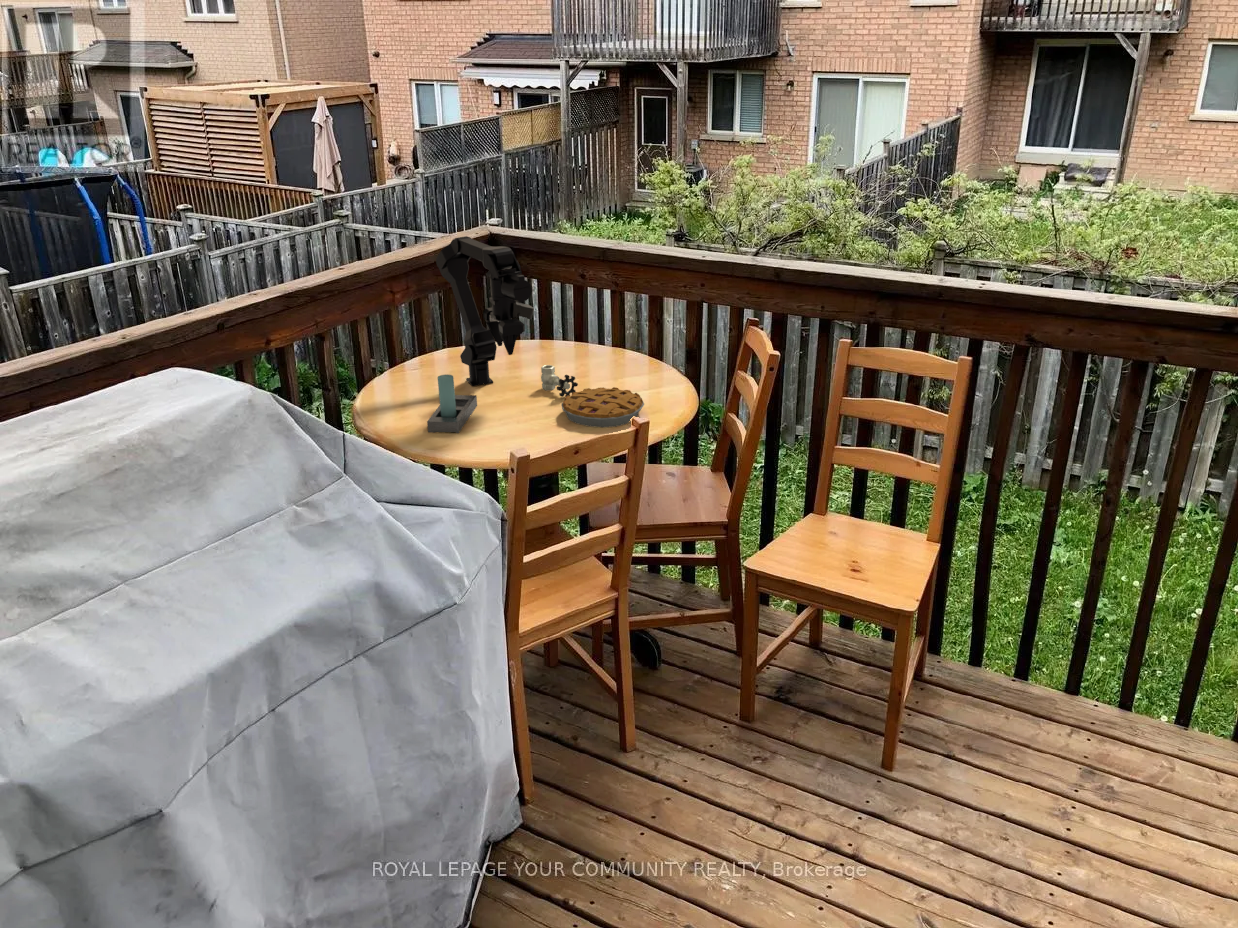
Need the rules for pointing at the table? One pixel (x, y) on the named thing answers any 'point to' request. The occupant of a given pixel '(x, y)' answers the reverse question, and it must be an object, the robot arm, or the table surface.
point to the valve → (556, 381)
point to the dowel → (447, 396)
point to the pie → (602, 407)
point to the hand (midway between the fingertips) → (505, 350)
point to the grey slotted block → (449, 424)
